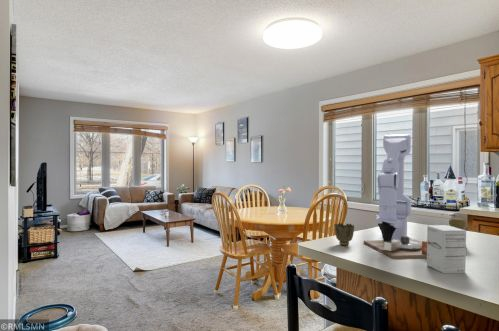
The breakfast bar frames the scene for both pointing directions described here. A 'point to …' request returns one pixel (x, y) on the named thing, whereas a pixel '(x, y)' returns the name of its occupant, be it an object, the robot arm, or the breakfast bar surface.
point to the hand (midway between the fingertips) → (387, 243)
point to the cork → (457, 223)
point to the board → (400, 252)
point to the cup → (344, 233)
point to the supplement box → (446, 248)
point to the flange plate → (401, 245)
